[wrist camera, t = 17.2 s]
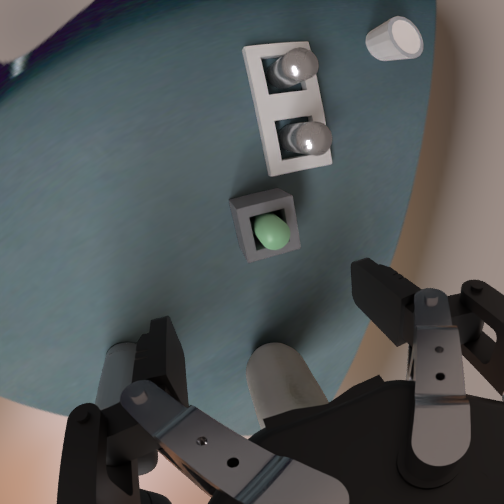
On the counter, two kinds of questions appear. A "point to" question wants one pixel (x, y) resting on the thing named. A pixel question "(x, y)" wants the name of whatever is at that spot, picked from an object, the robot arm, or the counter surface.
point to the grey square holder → (258, 205)
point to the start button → (270, 230)
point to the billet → (306, 138)
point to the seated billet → (292, 68)
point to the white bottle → (280, 381)
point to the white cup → (395, 40)
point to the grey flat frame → (282, 108)
